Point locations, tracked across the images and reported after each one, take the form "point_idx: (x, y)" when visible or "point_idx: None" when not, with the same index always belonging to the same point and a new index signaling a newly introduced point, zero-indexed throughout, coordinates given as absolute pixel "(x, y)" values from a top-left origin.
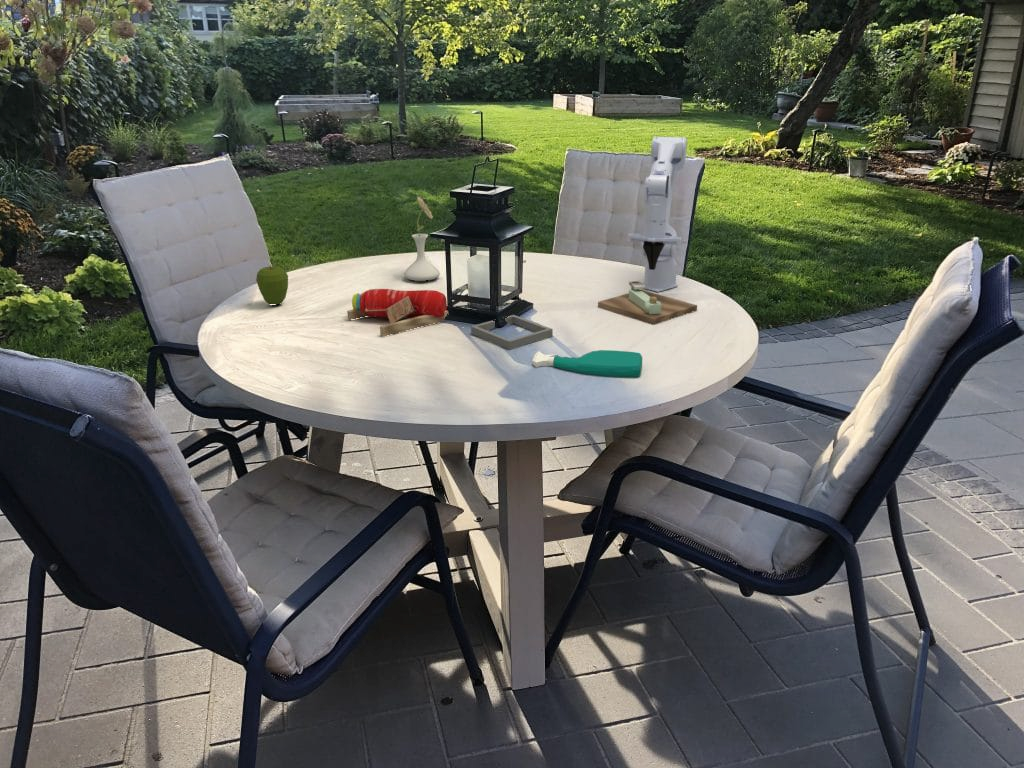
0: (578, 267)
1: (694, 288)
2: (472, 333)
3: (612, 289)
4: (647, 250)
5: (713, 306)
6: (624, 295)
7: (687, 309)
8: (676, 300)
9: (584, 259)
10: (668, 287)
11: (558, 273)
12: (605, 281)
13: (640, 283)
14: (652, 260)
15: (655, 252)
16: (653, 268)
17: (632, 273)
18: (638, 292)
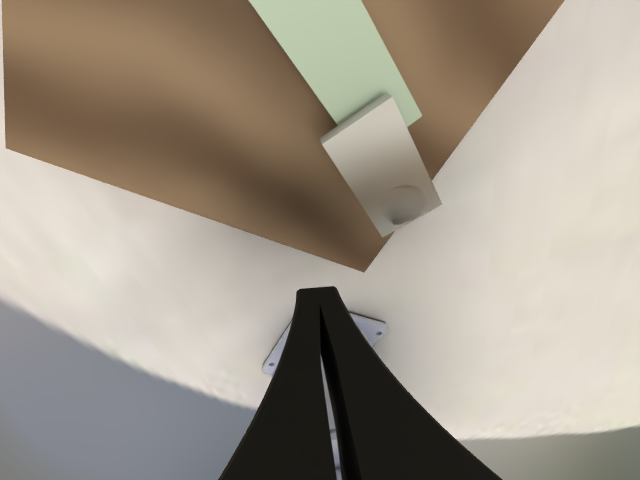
0: (560, 392)
1: (208, 372)
2: None
3: (472, 273)
4: (415, 452)
5: (14, 233)
6: (429, 165)
7: (8, 53)
8: (157, 187)
9: (535, 432)
10: (281, 344)
11: (631, 340)
12: (493, 331)
13: (367, 194)
14: (319, 347)
15: (287, 445)
16: (301, 294)
17: None
18: (354, 82)
